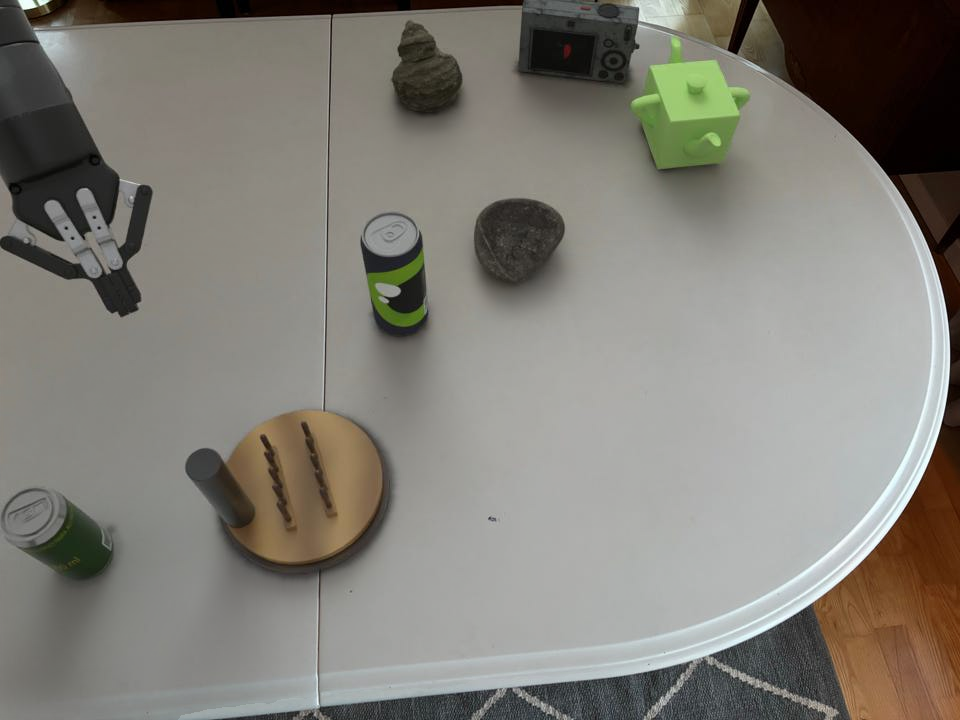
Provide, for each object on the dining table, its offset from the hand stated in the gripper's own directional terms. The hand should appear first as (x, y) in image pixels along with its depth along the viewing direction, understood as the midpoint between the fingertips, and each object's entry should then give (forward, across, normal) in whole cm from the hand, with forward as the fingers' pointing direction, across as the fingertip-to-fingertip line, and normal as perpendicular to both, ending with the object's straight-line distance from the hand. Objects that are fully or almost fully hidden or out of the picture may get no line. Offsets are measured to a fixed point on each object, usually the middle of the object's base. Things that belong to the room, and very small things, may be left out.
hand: (130, 312), depth 68 cm
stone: (+13, +41, +15) cm, 46 cm away
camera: (-4, +66, +32) cm, 73 cm away
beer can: (+20, -14, +7) cm, 26 cm away
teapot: (+9, +70, +18) cm, 72 cm away
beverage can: (+14, +25, +14) cm, 32 cm away
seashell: (-8, +44, +35) cm, 57 cm away
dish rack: (+23, +7, +3) cm, 24 cm away
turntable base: (+24, +6, +4) cm, 25 cm away
